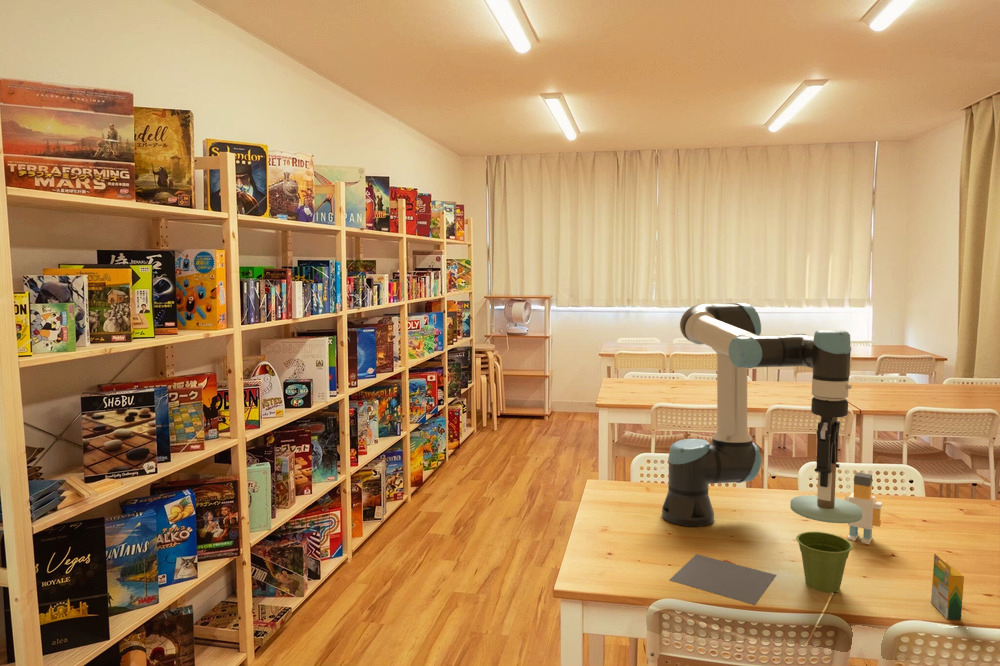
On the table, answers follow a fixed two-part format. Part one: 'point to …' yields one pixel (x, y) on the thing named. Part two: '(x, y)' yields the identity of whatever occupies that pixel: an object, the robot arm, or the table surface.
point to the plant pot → (823, 559)
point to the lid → (827, 507)
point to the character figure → (864, 507)
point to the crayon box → (947, 589)
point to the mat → (724, 579)
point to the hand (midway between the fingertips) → (825, 496)
